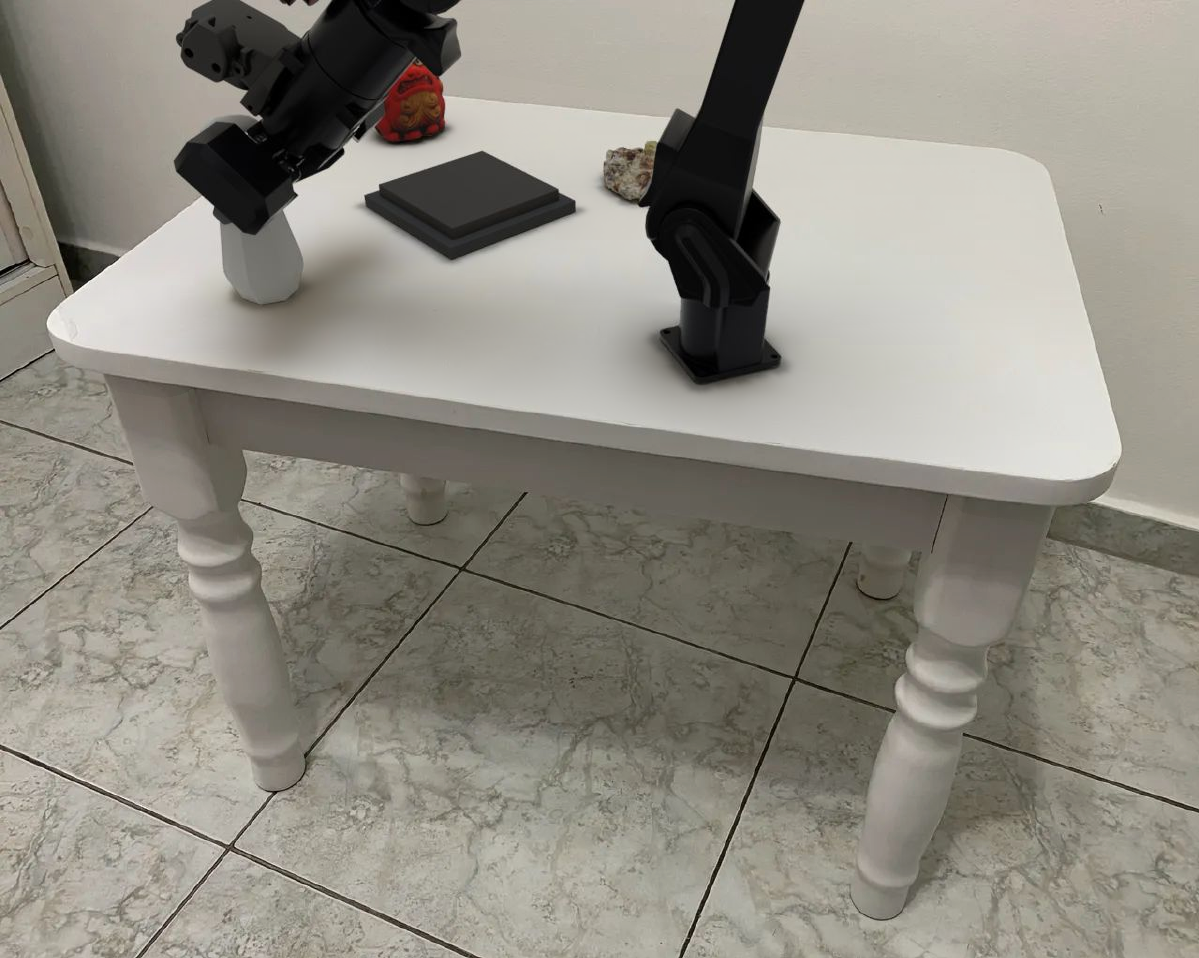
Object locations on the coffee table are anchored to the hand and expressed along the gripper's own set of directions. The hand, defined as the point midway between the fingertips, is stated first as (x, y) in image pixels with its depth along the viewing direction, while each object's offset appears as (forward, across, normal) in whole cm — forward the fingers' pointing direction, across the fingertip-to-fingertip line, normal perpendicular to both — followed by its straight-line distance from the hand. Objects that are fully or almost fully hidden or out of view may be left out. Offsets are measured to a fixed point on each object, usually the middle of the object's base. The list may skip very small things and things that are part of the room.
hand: (232, 207), depth 72 cm
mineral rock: (-14, -25, +24) cm, 37 cm away
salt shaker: (+4, 0, +6) cm, 7 cm away
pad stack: (-3, -17, +13) cm, 21 cm away
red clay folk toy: (+5, -32, +4) cm, 33 cm away
